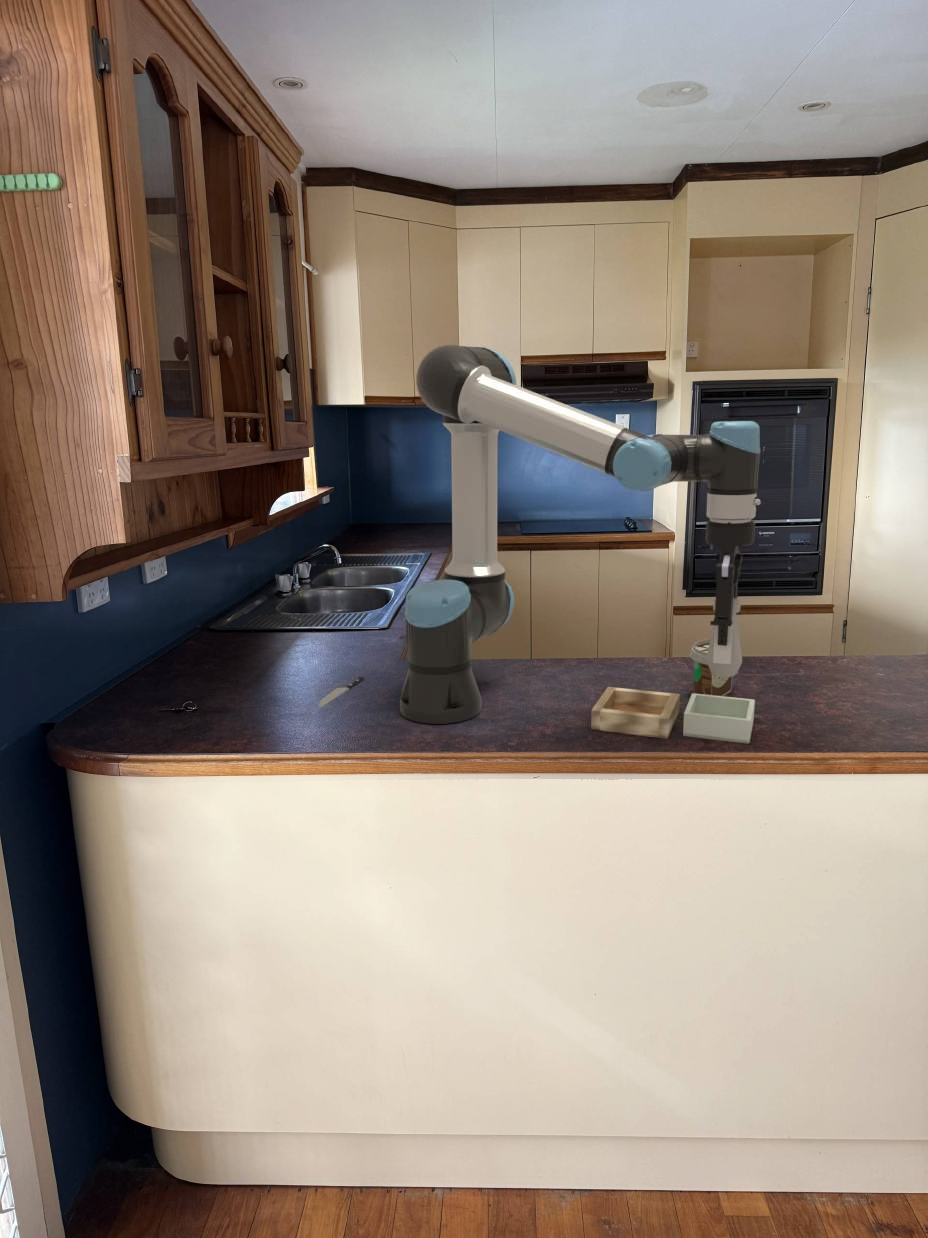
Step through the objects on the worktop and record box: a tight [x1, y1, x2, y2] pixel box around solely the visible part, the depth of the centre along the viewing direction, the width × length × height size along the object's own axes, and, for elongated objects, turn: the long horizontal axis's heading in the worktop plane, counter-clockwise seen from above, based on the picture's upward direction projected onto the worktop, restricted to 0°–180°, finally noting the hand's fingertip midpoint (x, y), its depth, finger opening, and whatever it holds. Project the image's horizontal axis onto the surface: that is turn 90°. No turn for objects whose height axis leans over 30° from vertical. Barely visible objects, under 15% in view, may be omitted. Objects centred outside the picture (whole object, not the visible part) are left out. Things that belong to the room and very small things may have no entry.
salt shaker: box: [706, 598, 743, 677], centre depth 139 cm, size 6×6×13 cm
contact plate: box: [612, 703, 663, 715], centre depth 147 cm, size 9×9×1 cm
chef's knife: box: [318, 676, 365, 708], centre depth 165 cm, size 19×1×3 cm
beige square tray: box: [590, 686, 681, 740], centre depth 147 cm, size 13×13×4 cm
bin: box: [682, 692, 756, 745], centre depth 143 cm, size 11×11×4 cm
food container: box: [689, 638, 734, 697], centre depth 158 cm, size 12×6×10 cm, turn 141°
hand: (723, 657), depth 140 cm, fingers closed on salt shaker, 6 cm apart
